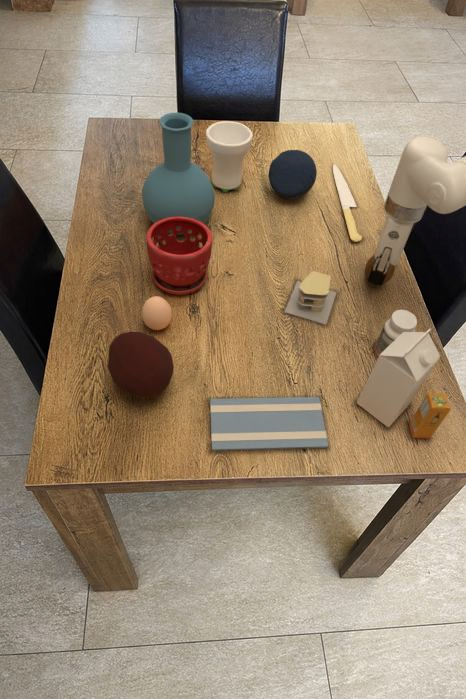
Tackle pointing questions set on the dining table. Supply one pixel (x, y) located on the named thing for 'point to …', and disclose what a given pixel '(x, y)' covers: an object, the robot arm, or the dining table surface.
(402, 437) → the dining table surface
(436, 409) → the supplement box
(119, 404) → the dining table surface
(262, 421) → the towel
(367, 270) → the fruit
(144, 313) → the egg
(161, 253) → the flower pot
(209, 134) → the cup
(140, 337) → the potato
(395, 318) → the pill bottle
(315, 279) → the stacked layers on plate
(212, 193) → the vase
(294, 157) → the decorative stone
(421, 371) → the milk carton
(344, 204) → the knife
